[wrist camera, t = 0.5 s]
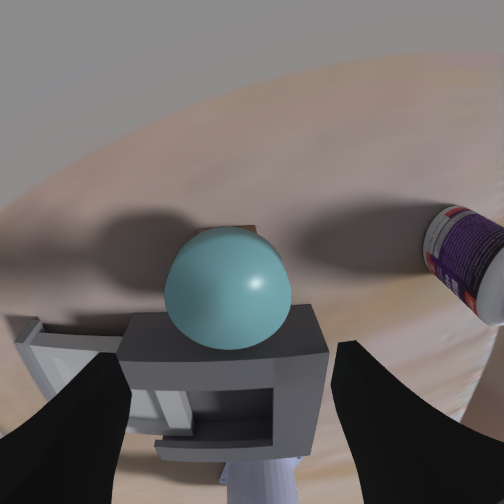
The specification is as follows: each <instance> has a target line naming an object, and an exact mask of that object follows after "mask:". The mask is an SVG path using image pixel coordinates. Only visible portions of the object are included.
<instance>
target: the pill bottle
mask: <svg viewBox="0 0 504 504" xmlns="http://www.w3.org/2000/svg"><path fill="white" fill-rule="evenodd" d="M423 256H424V261H425V263H426V265H427V267H428V268H429V270H430V271H431V272H432V273H433V274H434V275H435V276H436V277H437V278H438V279H439V280H441V281H442V282H443V283H444V284H445V285H446V286H447V287H448V288H449V289H450V290H451V291H452V292H453V293H454V294H455V295H456V296H458V297H459V298H460V299H461V300H462V301H463V302H464V303H465V304H466V305H467V306H468V307H469V308H470V309H471V310H472V311H473V312H474V313H475V314H476V315H477V316H478V317H479V318H480V319H481V320H482V321H483V322H484V323H486V324H487V325H490V326H502V325H504V227H502V226H500V225H498V224H497V223H495V222H493V221H491V220H489V219H487V218H486V217H484V216H482V215H480V214H478V213H476V212H474V211H472V210H470V209H468V208H466V207H463V206H451V207H448V208H446V209H444V210H443V211H441V212H440V213H439V214H438V215H437V216H436V217H435V218H434V220H433V221H432V222H431V224H430V226H429V228H428V230H427V232H426V235H425V239H424V244H423Z"/></svg>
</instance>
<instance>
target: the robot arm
mask: <svg viewBox="0 0 504 504" xmlns="http://www.w3.org/2000/svg"><path fill="white" fill-rule="evenodd" d="M331 390H332V394H333V399H334V403H335V408H336V412H337V414H338V417H339V420H340V423H341V426H342V428H343V431H344V434H345V437H346V440H347V442H348V445H349V448H350V451H351V453H352V456H353V459H354V462H355V465H356V468H357V472H358V476H359V480H360V485H361V490H362V495H363V500H364V504H504V442H501V441H498V440H495V439H493V438H490V437H488V436H485V435H483V434H481V433H478V432H476V431H474V430H472V429H470V428H468V427H466V426H464V425H462V424H460V423H458V422H457V421H455V420H453V419H451V418H450V417H448V416H446V415H445V414H443V413H442V412H440V411H439V410H437V409H436V408H434V407H432V406H431V405H430V404H428V403H427V402H425V401H424V400H423V399H421V398H420V397H419V396H418V395H416V394H415V393H414V392H412V391H411V390H410V389H409V388H407V387H406V386H405V385H404V384H403V383H401V382H400V381H399V380H398V379H397V378H396V377H395V376H393V375H392V374H391V373H390V372H389V371H388V370H387V369H386V368H385V367H384V366H383V365H381V364H380V363H379V362H378V361H377V360H376V359H375V358H374V357H373V356H372V355H371V354H370V353H369V352H368V351H367V350H366V349H365V348H364V347H362V346H361V345H360V344H359V343H358V342H357V341H356V340H354V341H347V342H339V343H338V346H337V352H336V358H335V364H334V369H333V375H332V380H331ZM131 399H132V392H131V389H130V387H129V385H128V382H127V380H126V378H125V375H124V373H123V371H122V368H121V366H120V363H119V361H118V358H117V355H116V353H111V352H99V353H98V354H97V355H96V356H95V357H94V358H93V359H92V360H91V361H90V362H89V363H88V364H87V365H86V366H85V367H84V368H83V369H82V370H81V371H80V372H79V373H78V374H77V375H76V376H75V377H74V378H73V379H72V380H71V381H70V382H69V383H68V384H67V385H66V386H65V387H64V388H63V389H62V390H61V391H60V392H59V393H58V394H57V395H56V396H54V397H53V398H52V399H51V400H50V401H49V402H48V403H47V404H46V405H45V406H44V407H43V408H42V409H40V410H39V411H38V412H37V413H36V414H35V415H33V416H32V417H31V418H30V419H29V420H27V421H26V422H25V423H23V424H22V425H21V426H19V427H18V428H17V429H15V430H14V431H12V432H11V433H9V434H7V435H6V436H4V437H3V438H1V439H0V504H111V500H112V489H113V480H114V475H115V470H116V466H117V462H118V458H119V454H120V450H121V446H122V443H123V439H124V435H125V431H126V428H127V424H128V420H129V414H130V407H131ZM303 457H304V456H300V457H292V458H284V459H274V460H262V461H246V462H226V464H225V466H224V469H223V471H222V474H221V476H220V479H219V483H221V484H227V504H299V500H298V494H297V488H296V482H295V476H294V468H295V467H296V466H297V465H298V463H299V462H300V461H301V459H302V458H303Z"/></svg>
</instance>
